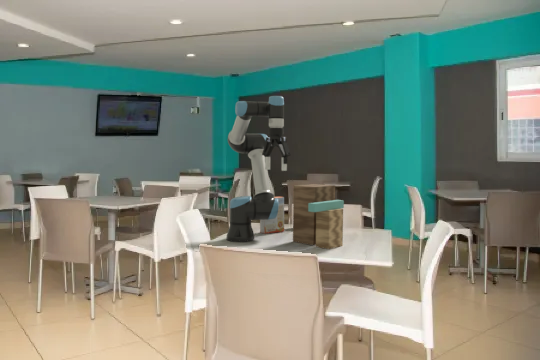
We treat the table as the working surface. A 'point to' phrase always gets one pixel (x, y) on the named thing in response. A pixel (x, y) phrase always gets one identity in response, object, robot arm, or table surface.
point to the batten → (325, 205)
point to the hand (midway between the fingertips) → (275, 170)
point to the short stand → (329, 228)
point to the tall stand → (301, 216)
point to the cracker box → (274, 220)
